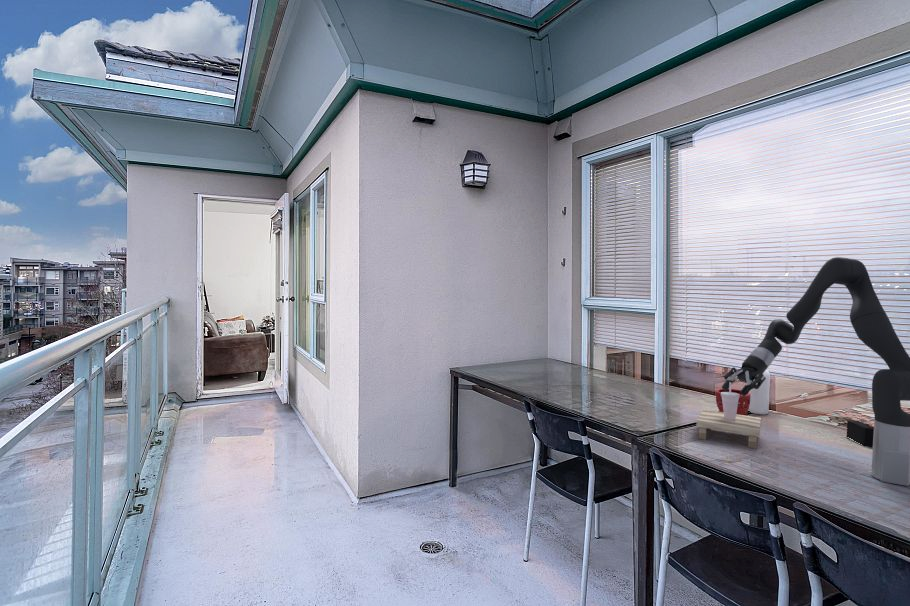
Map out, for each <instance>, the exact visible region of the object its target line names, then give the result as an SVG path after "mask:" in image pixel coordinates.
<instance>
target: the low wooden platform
mask: <svg viewBox="0 0 910 606" xmlns="http://www.w3.org/2000/svg"><path fill="white" fill-rule="evenodd" d="M761 424H762V418H761V417H757V416H751V415H750V416H749V415H748V416H745V415H738V414H736V420H728V419H725V418H724V412H718V411H715V410H711V409H709V410H708V409H702V411H701V412H700V414H699V416H698V418H697V419H696V427H698V439H700V440H707V436H708V435H707V433H708V430H717V431H721V432H729V433H735V434H740V435H747V436H748V443H747V444H748V447H747V448H752V449H757V443H758V437H759V438H760V437H761V436H760V433H761V426H762V425H761Z"/></svg>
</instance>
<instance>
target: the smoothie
mask: <svg viewBox="0 0 910 606" xmlns="http://www.w3.org/2000/svg"><path fill="white" fill-rule="evenodd" d="M731 389H732V385H731V382H729V392H721V396H722V403H723V411H724V418H725V419H728V420H736V413H737V407H738V400H739V397H740V394H738V393H734V392H731Z"/></svg>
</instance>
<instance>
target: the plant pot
mask: <svg viewBox="0 0 910 606" xmlns="http://www.w3.org/2000/svg"><path fill="white" fill-rule="evenodd" d="M741 390H742V389H738V388H737V389H736V388H731V392H734V393H738V394H740V397H739V400H738V407H737V413H736V414H738V415H745V416H749V414H747V413H748V409H749V405H750V393H749V392H748V394H746V395H745V396H742V395H741V393H740V391H741ZM721 392H729V389H728V390H727V391H724V390H723V389H722V388H718V389H716V390H715V401H716V407H717V409H718V411H717V412H724V411H723V403H722V396H721Z"/></svg>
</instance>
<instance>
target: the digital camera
mask: <svg viewBox="0 0 910 606" xmlns="http://www.w3.org/2000/svg"><path fill="white" fill-rule="evenodd" d="M873 436H874V426H872V425H870V424H869V423H865V422H862V421H861V420H847V423H846V438H847V437H849V438H851V439H853V440H854V441H856V442H858V443H860V444H862V445H863V446H862V445H861V446H862V447H865V446H870V447H869V448H873ZM854 441H853V442H854ZM856 442H855V443H856ZM858 443H857V444H858ZM860 444H859V445H860Z"/></svg>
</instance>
